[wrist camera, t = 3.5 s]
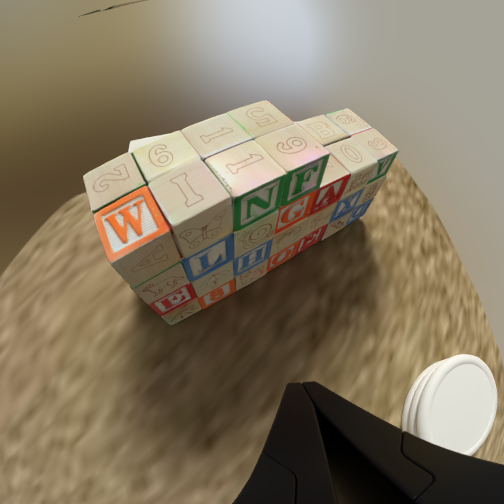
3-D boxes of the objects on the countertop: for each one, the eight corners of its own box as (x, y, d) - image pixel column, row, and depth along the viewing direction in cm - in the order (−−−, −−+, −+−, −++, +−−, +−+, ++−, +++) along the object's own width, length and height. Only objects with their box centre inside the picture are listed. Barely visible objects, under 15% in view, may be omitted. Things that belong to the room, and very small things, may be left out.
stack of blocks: (326, 175, 30) (357, 79, 19) (364, 216, 28) (416, 124, 17) (139, 267, 24) (79, 172, 13) (169, 329, 22) (105, 263, 11)
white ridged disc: (386, 463, 16) (407, 469, 13) (408, 354, 21) (430, 345, 18) (465, 458, 15) (489, 459, 12) (480, 365, 20) (502, 357, 17)
